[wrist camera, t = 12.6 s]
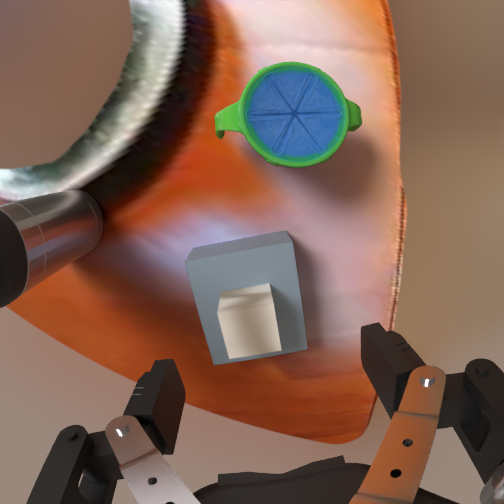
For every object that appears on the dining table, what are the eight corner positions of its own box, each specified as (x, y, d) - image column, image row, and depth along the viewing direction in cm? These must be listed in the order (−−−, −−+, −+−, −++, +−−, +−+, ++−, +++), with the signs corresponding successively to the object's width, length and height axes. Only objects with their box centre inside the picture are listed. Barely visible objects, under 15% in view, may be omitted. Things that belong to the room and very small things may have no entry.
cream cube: (231, 333, 36) (229, 358, 31) (221, 291, 35) (217, 313, 30) (276, 325, 36) (281, 350, 31) (269, 283, 35) (273, 303, 29)
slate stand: (217, 341, 43) (214, 365, 38) (193, 248, 40) (184, 261, 34) (300, 326, 43) (307, 349, 37) (285, 230, 39) (292, 241, 34)
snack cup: (343, 92, 35) (373, 71, 25) (342, 171, 38) (373, 173, 28) (220, 85, 34) (212, 58, 25) (218, 166, 37) (208, 165, 27)
